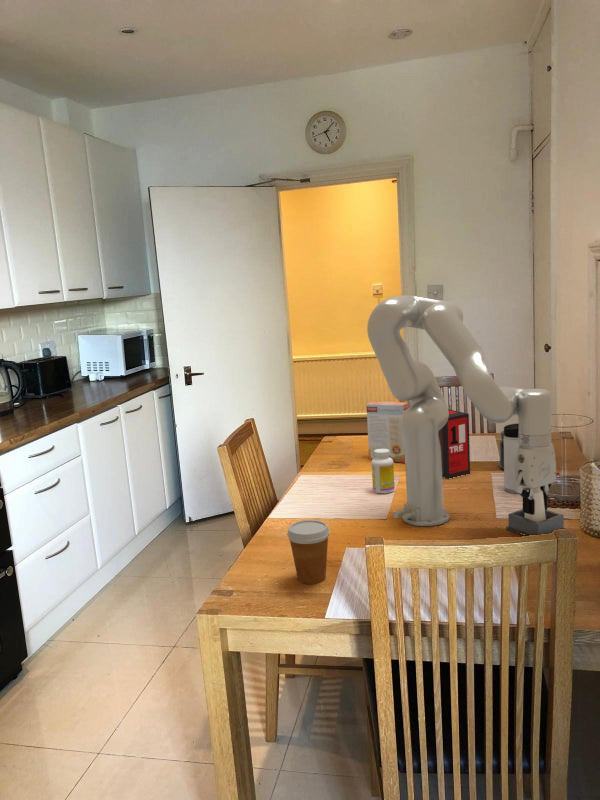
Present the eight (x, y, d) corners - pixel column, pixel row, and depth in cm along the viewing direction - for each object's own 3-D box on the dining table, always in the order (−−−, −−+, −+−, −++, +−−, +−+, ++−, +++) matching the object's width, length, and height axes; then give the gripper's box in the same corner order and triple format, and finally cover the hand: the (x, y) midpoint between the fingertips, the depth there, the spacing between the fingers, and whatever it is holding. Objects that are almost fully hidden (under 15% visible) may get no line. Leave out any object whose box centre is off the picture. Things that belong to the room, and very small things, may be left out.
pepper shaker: (531, 528, 163) (531, 485, 161) (519, 521, 168) (518, 479, 166) (551, 524, 164) (551, 482, 162) (537, 517, 169) (537, 476, 167)
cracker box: (411, 459, 237) (409, 401, 233) (404, 463, 232) (402, 404, 228) (376, 455, 244) (373, 400, 240) (368, 460, 239) (365, 403, 235)
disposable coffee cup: (284, 585, 146) (280, 533, 144) (299, 566, 155) (295, 517, 153) (325, 589, 143) (321, 536, 140) (338, 570, 151) (335, 520, 149)
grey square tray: (538, 541, 159) (538, 524, 159) (506, 529, 168) (506, 513, 167) (566, 530, 164) (566, 515, 164) (533, 519, 173) (533, 504, 172)
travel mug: (529, 493, 193) (528, 426, 189) (505, 493, 194) (504, 426, 191) (526, 486, 199) (525, 421, 195) (503, 486, 200) (502, 422, 197)
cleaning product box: (417, 467, 226) (414, 410, 222) (438, 463, 229) (436, 406, 226) (448, 479, 211) (446, 417, 207) (470, 474, 215) (468, 413, 211)
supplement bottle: (399, 489, 204) (397, 449, 202) (386, 495, 200) (384, 454, 197) (381, 486, 209) (379, 446, 207) (368, 492, 204) (366, 451, 202)
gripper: (523, 448, 155) (523, 523, 158) (570, 436, 163) (569, 507, 166) (498, 443, 161) (499, 514, 164) (545, 431, 169) (545, 499, 173)
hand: (534, 510), depth 165 cm, fingers closed on pepper shaker, 3 cm apart
